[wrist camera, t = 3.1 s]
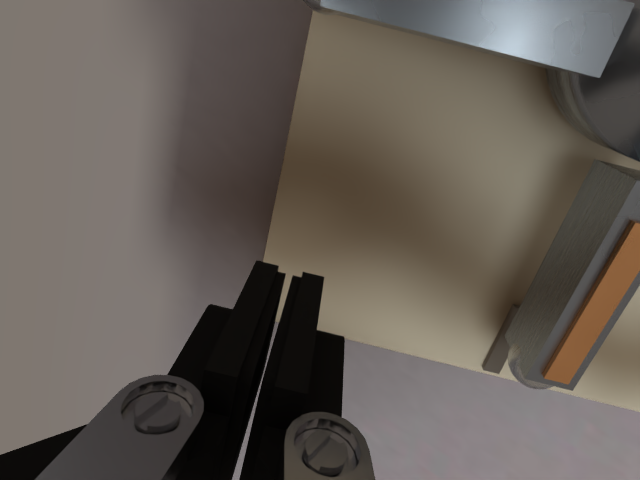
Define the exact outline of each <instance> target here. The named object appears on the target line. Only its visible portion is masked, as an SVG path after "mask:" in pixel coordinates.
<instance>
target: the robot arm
mask: <svg viewBox="0 0 640 480" xmlns="http://www.w3.org/2000/svg"><path fill="white" fill-rule="evenodd" d="M278 268H279V266H278V265H274V264H270V263H266V262H261V261H256V263H255V265H254V267H253V269H252V271H251V273H250V275H249V277H248V279H247V281H246V283H245V285H244V288H243V290H242V292H241V294H240V296H239V298H238V300H237V302H236V304H235V306H234V308H233V309H229V308H224V307H220V306H216V305H212V304H210V305H209V306H208V307H207V308H206V310H205V312H204V313H203V315H202V317H201V318H200V320H199V322H198V324H197V325H196V327H195V329H194V330H193V332H192V334H191V335H190V337H189V339H188V341H187V342H186V344H185V346H184V347H183V349H182V351H181V352H180V354H179V356H178V358H177V359H176V361H175V363H174V364H173V366H172V368H171V369H170V371H169V373H168V375H153V376H148V377H143V378H140V379H138V380H136V381H133V382H131V383H129V384H128V385H127V386H126V387H124V388H123V389H122V390H120V391H119V392H118V393H117V394H116V395H115V396H114V397H113V399H111V400H110V402H109V403H108V404H107V405H106V406H105V407H104V408H103V409H102V410H101V411H100V412H99V413H98V414H97V415H96V416H95V417H94V418H93V419H92V420H91V421H90V423H89V424H87V425H84V426H81V427H78V428H76V429H72V430H70V431H67V432H64V433H61V434H58V435H56V436H53V437H50V438H47V439H44V440H41V441H38V442H36V443H33V444H30V445H27V446H24V447H22V448H19V449H16V450H13V451H10V452H7V453H5V454H2V455H0V480H232V477H233V474H234V470H235V467H236V463H237V460H238V457H239V453H240V450H241V446H242V443H243V440H244V436H245V433H246V429H247V426H248V422H249V419H250V416H251V412H252V409H253V405H254V402H255V398H256V395H257V392H258V388H259V385H260V381H261V378H262V375H263V371H264V367H265V363H266V359H267V355H268V350H269V346H270V341H271V337H272V333H273V328H274V324H275V320H276V315H277V311H278V307H279V302H280V298H281V293H282V289H283V285H284V280H285V276H286V273H282V272H278ZM323 283H324V277H323V276H319V275H315V274H311V273H306V272H303V273H302V277H298V276H294V275H293V276H292V280H291V283H290V287H289V290H288V293H287V297H286V300H285V304H284V307H283V311H282V314H281V318H280V321H279V325H278V328H277V332H276V335H275V339H274V342H273V346H272V349H271V353H270V356H269V360H268V363H267V367H266V370H265V374H264V377H263V381H262V385H261V389H260V393H259V397H258V401H257V406H256V410H255V414H254V419H253V423H252V427H251V432H250V436H249V441H248V445H247V449H246V454H245V458H244V462H243V467H242V471H241V475H240V480H375V476H374V471H373V466H372V461H371V456H370V451H369V448H368V445H367V443H366V440H365V438H364V437H363V435H362V434H361V433H360V431H359V430H358V429H357V428H356V427H355V426H354V425H352V424H351V423H350V422H349V421H348V420H346V419H344V418H342V417H341V416H342V391H343V367H344V343H345V341H344V336H340V335H336V334H332V333H328V332H324V331H320V330H317V325H318V318H319V311H320V304H321V297H322V290H323Z"/></svg>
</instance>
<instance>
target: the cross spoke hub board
mask: <svg viewBox="0 0 640 480" xmlns="http://www.w3.org/2000/svg"><path fill="white" fill-rule="evenodd" d="M304 2H305V3H306V4H307V5H308V6H309V7H310V8H311V9H313V10H314V11H316V12H318V13H321V14H324V15H340V16H344V17H348V18H352V19H355V20H359V21H363V22H367V23H371V24H375V25H379V26H383V27H387V28H390V29H394V30H398V31H402V32H406V33H410V34H414V35H418V36H422V37H425V38H429V39H433V40H437V41H441V42H445V43H449V44H453V45H457V46H460V47H464V48H468V49H472V50H476V51H480V52H484V53H488V54H492V55H495V56H499V57H503V58H507V59H511V60H515V61H519V62H523V63H527V64H530V65H534V66H538V67H542V68H545V71H546V77H547V82H548V85H549V88H550V91H551V94H552V97H553V99H554V101H555V103H556V105H557V107H558V109H559V110H560V111H561V113H562V114H563V116H564V117H565V118H566V120H567V121H568V122H569V123H570V124H571V125H572V126H573V127H574V128H575V129H576V130H577V131H578V132H580V133H581V134H582V135H584V136H585V137H587V138H588V139H590V140H591V141H593V142H595V143H597V144H599V145H601V146H604V147H606V148H608V149H611V150H613V151H615V152H617V153H620V154H622V155H624V156H627V157H629V158H631V159H634V160H636V161H638V162H640V0H304ZM639 286H640V170H636V169H632V168H628V167H624V166H620V165H616V164H612V163H608V162H604V161H601V160H597V159H595V160H594V162H593V164H592V166H591V168H590V169H589V171H588V173H587V175H586V177H585V179H584V181H583V183H582V185H581V187H580V189H579V191H578V193H577V195H576V197H575V199H574V201H573V203H572V205H571V207H570V209H569V211H568V213H567V215H566V217H565V218H564V220H563V222H562V224H561V226H560V228H559V230H558V232H557V234H556V236H555V238H554V240H553V242H552V244H551V246H550V248H549V250H548V252H547V254H546V256H545V258H544V260H543V262H542V264H541V265H540V267H539V269H538V271H537V273H536V275H535V277H534V279H533V281H532V283H531V285H530V287H529V289H528V291H527V293H526V295H525V297H524V299H523V301H522V303H521V305H520V307H519V309H518V311H517V313H516V314H515V316H514V318H513V320H512V322H511V324H510V326H509V328H508V330H507V332H506V334H505V338H506V340H507V342H508V344H509V346H510V350H509V353H508V365H509V368H510V371H511V373H512V374H513V376H514V377H515V378H516V379H517V380H518V381H519V382H520V383H522V384H523V385H525V386H527V387H530V388H533V389H548V388H551V387H553V386H555V387H559V388H563V389H567V390H571V391H573V390H574V388H575V386H576V385H577V383H578V382H579V380H580V379H581V377H582V375H583V374H584V372H585V371H586V369H587V368H588V366H589V364H590V363H591V361H592V360H593V358H594V357H595V355H596V353H597V352H598V350H599V349H600V347H601V346H602V344H603V342H604V341H605V339H606V338H607V336H608V335H609V333H610V331H611V330H612V328H613V327H614V325H615V324H616V322H617V320H618V319H619V317H620V316H621V314H622V312H623V311H624V309H625V308H626V306H627V305H628V303H629V301H630V300H631V298H632V297H633V295H634V294H635V292H636V290H637V289H638V287H639Z"/></svg>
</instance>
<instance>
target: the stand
mask: <svg viewBox="0 0 640 480" xmlns="http://www.w3.org/2000/svg"><path fill="white" fill-rule="evenodd" d="M595 159H597V160H601V161H604V162H608V163H612V164H616V165H620V166H624V167H628V168H632V169H636V170H640V162H638V161H636V160H634V159H631V158H629V157H627V156H624V155H622V154H620V153H617V152H615V151H613V150H611V149H608V148H606V147H604V146H601V145H599V144H597V143H595V142H593V141H591V140H590V139H588V138H587V137H585V136H584V135H582V134H581V133H580V132H578V131H577V130H576V129H575V128H574V127H573V126H572V125H571V124H570V123H569V122H568V121H567V120H566V118H565V117H564V116H563V114H562V113H561V111H560V110H559V109H558V107H557V105H556V103H555V101H554V99H553V97H552V94H551V91H550V88H549V85H548V82H547V77H546V71H545V68H542V67H538V66H534V65H530V64H527V63H523V62H519V61H515V60H511V59H507V58H503V57H499V56H495V55H492V54H488V53H484V52H480V51H476V50H472V49H468V48H464V47H460V46H457V45H453V44H449V43H445V42H441V41H437V40H433V39H429V38H425V37H422V36H418V35H414V34H410V33H406V32H402V31H398V30H394V29H390V28H387V27H383V26H379V25H375V24H371V23H367V22H363V21H359V20H355V19H352V18H348V17H344V16H340V15H324V14H321V13H318V12H316V11H314V10H313V13H312V18H311V23H310V28H309V33H308V38H307V43H306V48H305V53H304V58H303V63H302V68H301V73H300V78H299V83H298V88H297V93H296V98H295V103H294V108H293V113H292V118H291V124H290V129H289V134H288V139H287V144H286V149H285V154H284V159H283V164H282V169H281V174H280V179H279V184H278V189H277V194H276V199H275V204H274V209H273V214H272V219H271V224H270V229H269V234H268V239H267V244H266V249H265V254H264V259H263V262H266V263H270V264H274V265H278V266H279V268H278V272H282V273H286V276H285V280H284V285H283V289H282V293H281V298H280V302H279V307H278V311H277V315H276V320H275V321H276V322H279V321H280V318H281V314H282V311H283V307H284V304H285V300H286V297H287V293H288V290H289V287H290V283H291V280H292V276H293V275H294V276H298V277H302V273H303V272H306V273H311V274H315V275H319V276H323V277H324V283H323V290H322V297H321V304H320V311H319V318H318V325H317V330H320V331H324V332H328V333H332V334H336V335H340V336H344V338H345V339H349V340H353V341H357V342H361V343H365V344H369V345H373V346H377V347H381V348H385V349H389V350H393V351H397V352H401V353H405V354H409V355H413V356H417V357H421V358H425V359H429V360H433V361H437V362H441V363H445V364H449V365H453V366H457V367H461V368H465V369H469V370H473V371H477V372H481V373H485V374H489V375H493V376H497V377H501V378H505V379H509V380H513V381H517V382H519V381H518V380H517V379H516V378H515V377H514V376H513V374H512V373H511V371H510V368H509V365H508V353H509V350H510V346H509V344H508V342H507V340H506V338H505V334H506V332H507V330H508V328H509V326H510V324H511V322H512V320H513V318H514V316H515V314H516V313H517V311H518V309H519V307H520V305H521V303H522V301H523V299H524V297H525V295H526V293H527V291H528V289H529V287H530V285H531V283H532V281H533V279H534V277H535V275H536V273H537V271H538V269H539V267H540V265H541V264H542V262H543V260H544V258H545V256H546V254H547V252H548V250H549V248H550V246H551V244H552V242H553V240H554V238H555V236H556V234H557V232H558V230H559V228H560V226H561V224H562V222H563V220H564V218H565V217H566V215H567V213H568V211H569V209H570V207H571V205H572V203H573V201H574V199H575V197H576V195H577V193H578V191H579V189H580V187H581V185H582V183H583V181H584V179H585V177H586V175H587V173H588V171H589V169H590V168H591V166H592V164H593V162H594V160H595ZM548 389H549V390H554V391H558V392H562V393H566V394H570V395H574V396H578V397H582V398H586V399H590V400H594V401H598V402H602V403H606V404H610V405H614V406H618V407H622V408H626V409H630V410H634V411H638V412H640V286H639V287H638V289H637V290H636V292H635V294H634V295H633V297H632V298H631V300H630V301H629V303H628V305H627V306H626V308H625V309H624V311H623V312H622V314H621V316H620V317H619V319H618V320H617V322H616V324H615V325H614V327H613V328H612V330H611V331H610V333H609V335H608V336H607V338H606V339H605V341H604V342H603V344H602V346H601V347H600V349H599V350H598V352H597V353H596V355H595V357H594V358H593V360H592V361H591V363H590V364H589V366H588V368H587V369H586V371H585V372H584V374H583V375H582V377H581V379H580V380H579V382H578V383H577V385H576V386H575V388H574V390H573V391H571V390H567V389H563V388H559V387H555V386H553V387H551V388H548Z"/></svg>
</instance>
